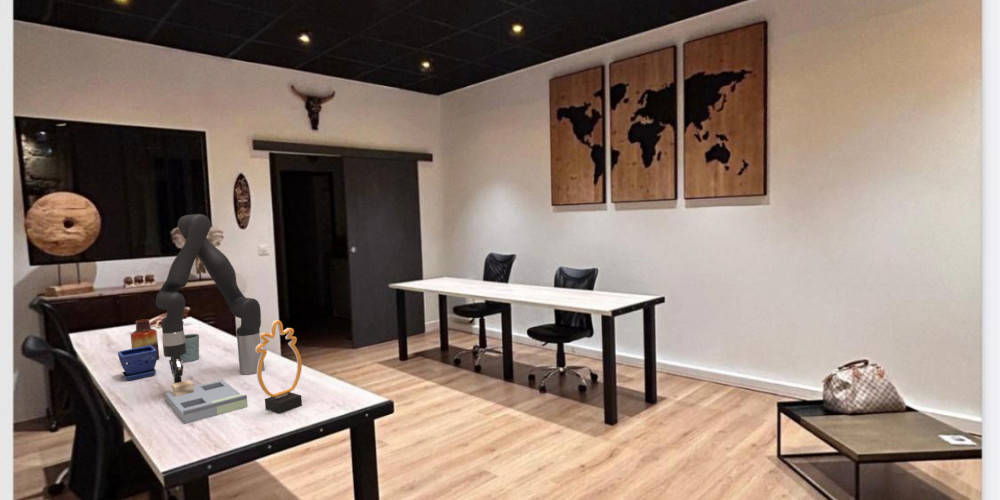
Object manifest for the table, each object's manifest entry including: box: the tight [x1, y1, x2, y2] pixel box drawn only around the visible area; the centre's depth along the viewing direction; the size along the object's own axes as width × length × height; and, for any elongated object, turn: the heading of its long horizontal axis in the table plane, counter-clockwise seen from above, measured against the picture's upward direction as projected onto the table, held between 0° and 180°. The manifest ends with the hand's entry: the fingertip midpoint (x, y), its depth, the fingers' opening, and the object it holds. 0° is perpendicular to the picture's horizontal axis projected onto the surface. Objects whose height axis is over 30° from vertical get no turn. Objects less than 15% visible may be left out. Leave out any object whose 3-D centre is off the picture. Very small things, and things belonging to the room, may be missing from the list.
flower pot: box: [117, 345, 157, 381], centre depth 232 cm, size 13×13×12 cm
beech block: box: [171, 379, 194, 396], centre depth 199 cm, size 6×6×4 cm
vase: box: [130, 318, 160, 362], centre depth 258 cm, size 11×11×20 cm
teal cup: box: [180, 333, 200, 364], centre depth 256 cm, size 10×10×12 cm
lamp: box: [255, 319, 303, 415], centre depth 186 cm, size 17×9×32 cm, turn 145°
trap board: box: [165, 379, 249, 424], centre depth 194 cm, size 20×32×4 cm, turn 42°
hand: (178, 385), depth 204 cm, fingers closed
